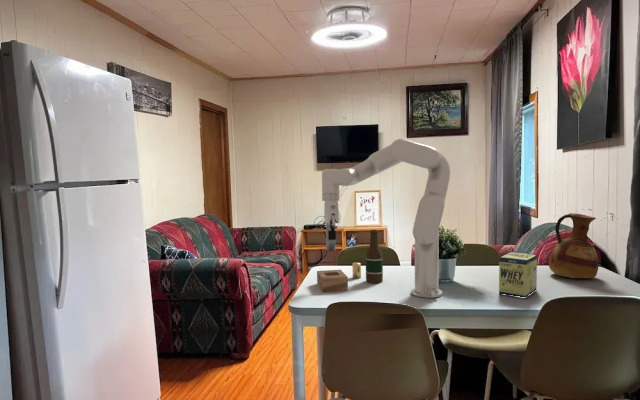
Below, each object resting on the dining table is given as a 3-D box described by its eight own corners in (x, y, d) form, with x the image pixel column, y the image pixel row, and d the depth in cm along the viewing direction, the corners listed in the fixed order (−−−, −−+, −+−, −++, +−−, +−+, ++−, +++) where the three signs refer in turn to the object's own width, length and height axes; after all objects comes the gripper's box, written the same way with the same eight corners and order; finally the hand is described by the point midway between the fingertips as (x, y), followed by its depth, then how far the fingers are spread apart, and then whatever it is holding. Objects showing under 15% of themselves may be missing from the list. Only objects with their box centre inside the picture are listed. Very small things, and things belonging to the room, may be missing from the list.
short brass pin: (361, 278, 204) (361, 264, 204) (353, 278, 203) (353, 264, 203) (359, 276, 208) (359, 262, 208) (351, 276, 207) (351, 262, 207)
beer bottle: (382, 284, 193) (382, 231, 192) (365, 283, 195) (364, 231, 193) (383, 279, 201) (382, 229, 199) (366, 279, 203) (366, 228, 201)
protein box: (498, 294, 174) (498, 257, 173) (510, 286, 186) (511, 251, 185) (525, 299, 167) (526, 260, 166) (537, 291, 179) (537, 254, 178)
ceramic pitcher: (596, 284, 187) (598, 216, 185) (545, 278, 199) (546, 214, 197) (600, 275, 203) (601, 212, 201) (552, 270, 215) (553, 210, 213)
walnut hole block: (347, 290, 183) (347, 276, 183) (322, 292, 182) (322, 278, 181) (340, 282, 197) (340, 269, 197) (317, 283, 195) (317, 270, 195)
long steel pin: (336, 251, 187) (336, 219, 186) (327, 251, 186) (327, 219, 185) (334, 249, 191) (334, 218, 190) (325, 249, 190) (325, 218, 189)
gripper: (343, 198, 179) (343, 241, 180) (335, 196, 196) (335, 235, 197) (325, 198, 178) (326, 242, 179) (318, 196, 194) (319, 236, 196)
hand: (330, 238), depth 188 cm, fingers closed on long steel pin, 4 cm apart
